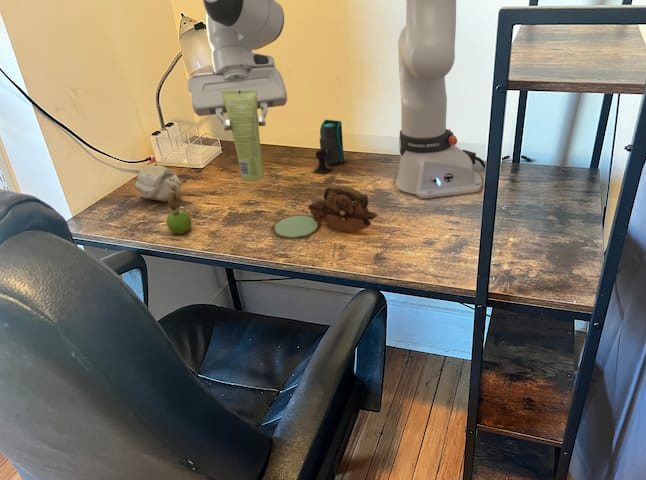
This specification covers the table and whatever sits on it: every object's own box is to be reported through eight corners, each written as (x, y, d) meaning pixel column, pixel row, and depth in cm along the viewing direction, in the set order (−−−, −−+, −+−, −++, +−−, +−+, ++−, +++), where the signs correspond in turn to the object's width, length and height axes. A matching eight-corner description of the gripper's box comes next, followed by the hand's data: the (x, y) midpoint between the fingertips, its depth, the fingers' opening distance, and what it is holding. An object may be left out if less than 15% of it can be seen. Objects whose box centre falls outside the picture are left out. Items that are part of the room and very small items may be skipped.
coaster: (319, 216, 128) (319, 215, 128) (315, 237, 120) (315, 235, 120) (278, 218, 129) (277, 216, 129) (271, 238, 120) (271, 237, 120)
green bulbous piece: (195, 223, 128) (183, 176, 122) (192, 236, 123) (180, 188, 117) (172, 226, 128) (159, 179, 121) (168, 239, 123) (154, 191, 116)
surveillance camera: (306, 130, 145) (324, 119, 153) (310, 171, 152) (328, 159, 159) (324, 132, 143) (342, 121, 150) (328, 174, 150) (344, 161, 157)
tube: (259, 170, 125) (244, 84, 114) (270, 176, 121) (256, 88, 111) (237, 177, 122) (220, 90, 111) (248, 184, 118) (232, 94, 108)
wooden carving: (306, 228, 123) (302, 188, 117) (314, 219, 126) (311, 180, 121) (374, 240, 118) (374, 199, 112) (380, 230, 122) (380, 190, 116)
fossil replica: (177, 206, 137) (189, 192, 146) (173, 175, 133) (185, 163, 142) (130, 204, 137) (145, 191, 146) (125, 173, 133) (140, 161, 142)
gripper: (183, 66, 112) (193, 126, 110) (280, 55, 116) (292, 113, 113) (188, 83, 118) (198, 140, 116) (280, 72, 122) (291, 127, 119)
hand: (245, 127), depth 114 cm, fingers closed on tube, 6 cm apart
